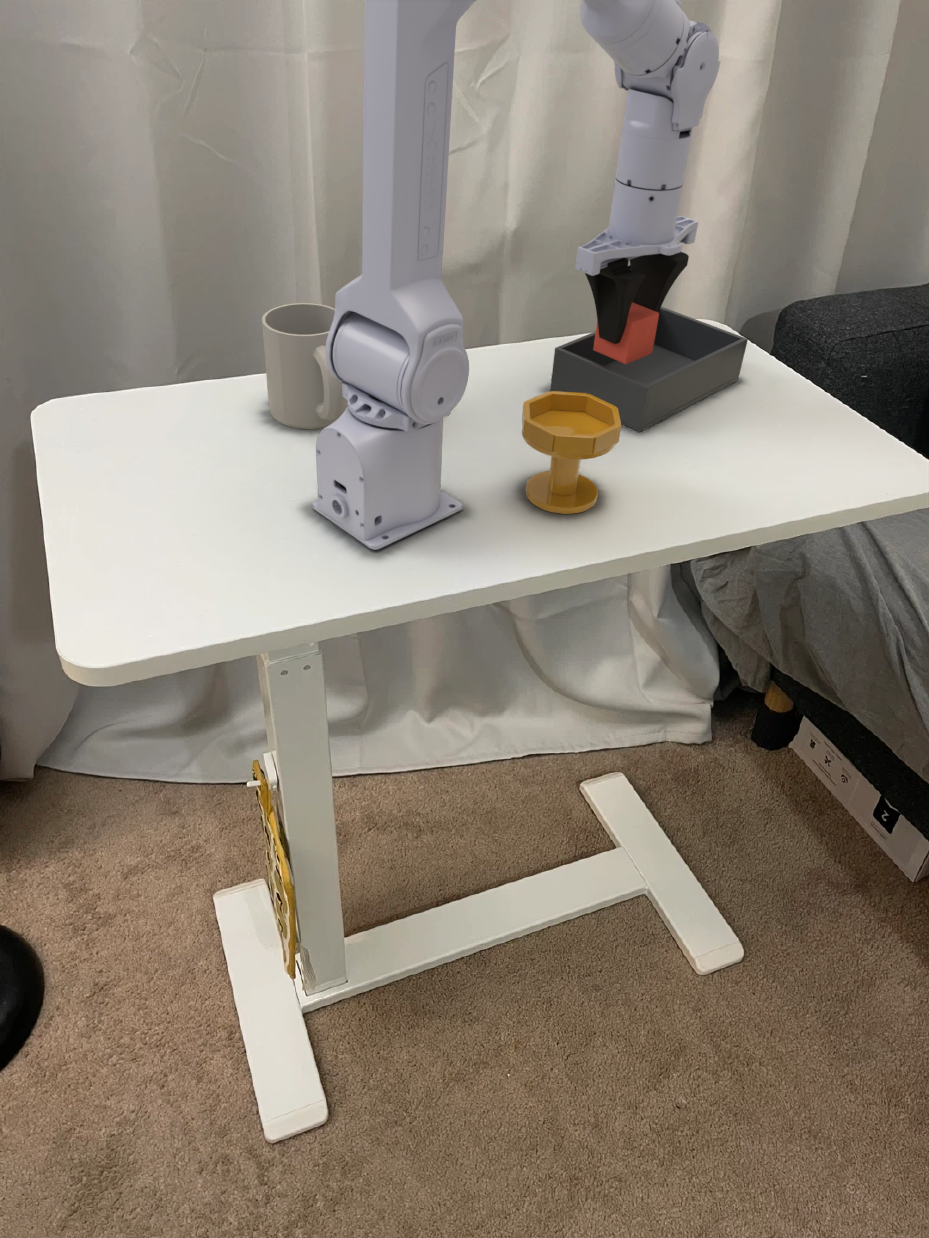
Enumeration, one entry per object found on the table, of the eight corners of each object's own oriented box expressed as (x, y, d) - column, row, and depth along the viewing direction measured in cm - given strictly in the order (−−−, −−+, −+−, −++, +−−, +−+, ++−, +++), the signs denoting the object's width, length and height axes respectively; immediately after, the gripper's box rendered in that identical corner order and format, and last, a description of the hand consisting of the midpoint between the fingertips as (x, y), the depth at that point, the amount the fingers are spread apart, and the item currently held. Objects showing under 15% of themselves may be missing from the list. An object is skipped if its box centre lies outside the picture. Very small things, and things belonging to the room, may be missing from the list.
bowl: (564, 530, 79) (576, 447, 75) (497, 490, 84) (504, 409, 79) (625, 498, 84) (639, 417, 79) (558, 462, 88) (567, 383, 83)
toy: (625, 365, 92) (632, 323, 90) (592, 350, 94) (598, 309, 92) (652, 353, 94) (659, 312, 92) (619, 339, 97) (625, 299, 94)
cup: (327, 388, 97) (324, 298, 91) (374, 434, 90) (374, 340, 84) (257, 403, 93) (249, 310, 88) (300, 451, 87) (294, 355, 81)
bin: (639, 432, 93) (647, 387, 90) (549, 391, 99) (554, 348, 96) (738, 380, 103) (748, 338, 100) (651, 345, 108) (658, 305, 106)
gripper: (631, 208, 79) (607, 369, 87) (737, 178, 87) (705, 328, 95) (565, 186, 82) (548, 342, 91) (672, 159, 90) (647, 305, 99)
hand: (624, 334), depth 93 cm, fingers closed on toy, 4 cm apart
